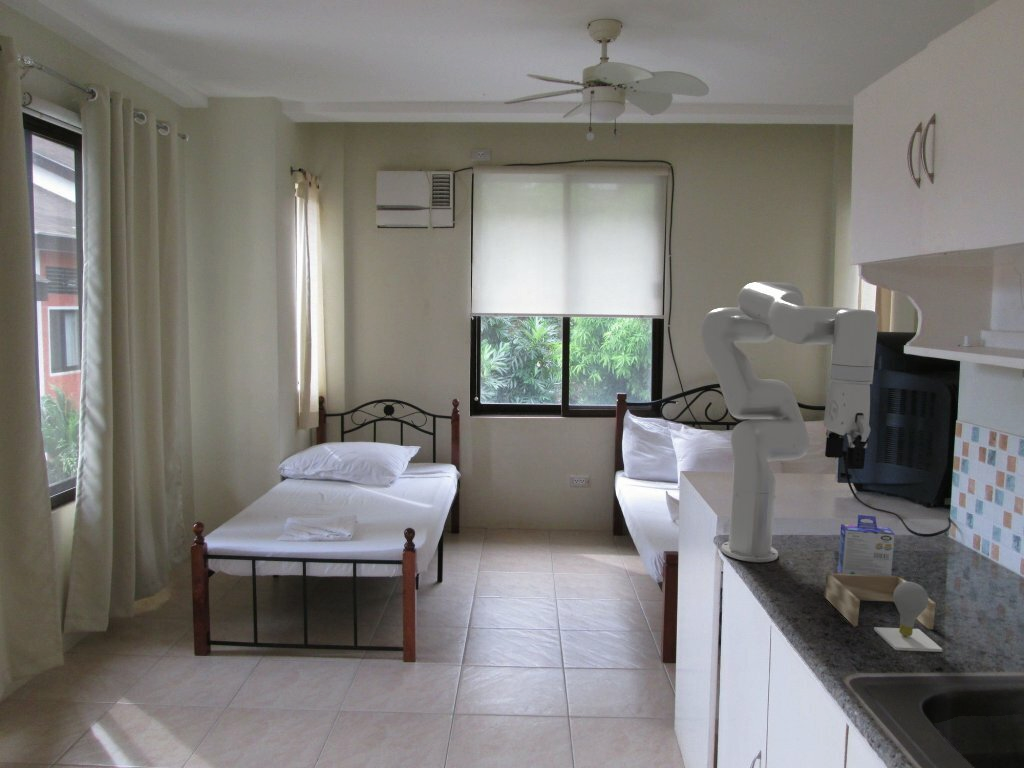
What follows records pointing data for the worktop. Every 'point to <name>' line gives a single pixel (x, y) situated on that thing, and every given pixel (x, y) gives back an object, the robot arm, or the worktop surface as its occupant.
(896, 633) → the grey pad
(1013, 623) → the worktop surface
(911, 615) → the light bulb
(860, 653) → the worktop surface
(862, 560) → the ink cartridge box
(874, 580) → the u-shaped wooden frame
